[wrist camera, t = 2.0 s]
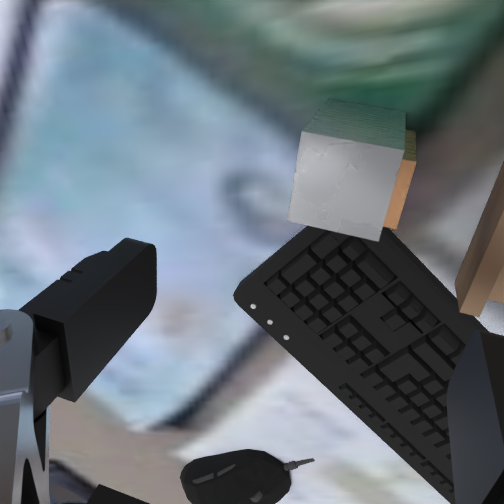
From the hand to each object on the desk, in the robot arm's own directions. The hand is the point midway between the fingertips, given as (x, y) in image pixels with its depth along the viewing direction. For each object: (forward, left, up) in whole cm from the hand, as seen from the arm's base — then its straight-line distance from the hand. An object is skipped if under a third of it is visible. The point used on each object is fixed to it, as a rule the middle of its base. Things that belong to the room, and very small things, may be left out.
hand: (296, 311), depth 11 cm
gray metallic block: (0, 0, -16) cm, 16 cm away
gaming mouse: (+32, -3, -16) cm, 36 cm away
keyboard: (+16, +9, -16) cm, 24 cm away
